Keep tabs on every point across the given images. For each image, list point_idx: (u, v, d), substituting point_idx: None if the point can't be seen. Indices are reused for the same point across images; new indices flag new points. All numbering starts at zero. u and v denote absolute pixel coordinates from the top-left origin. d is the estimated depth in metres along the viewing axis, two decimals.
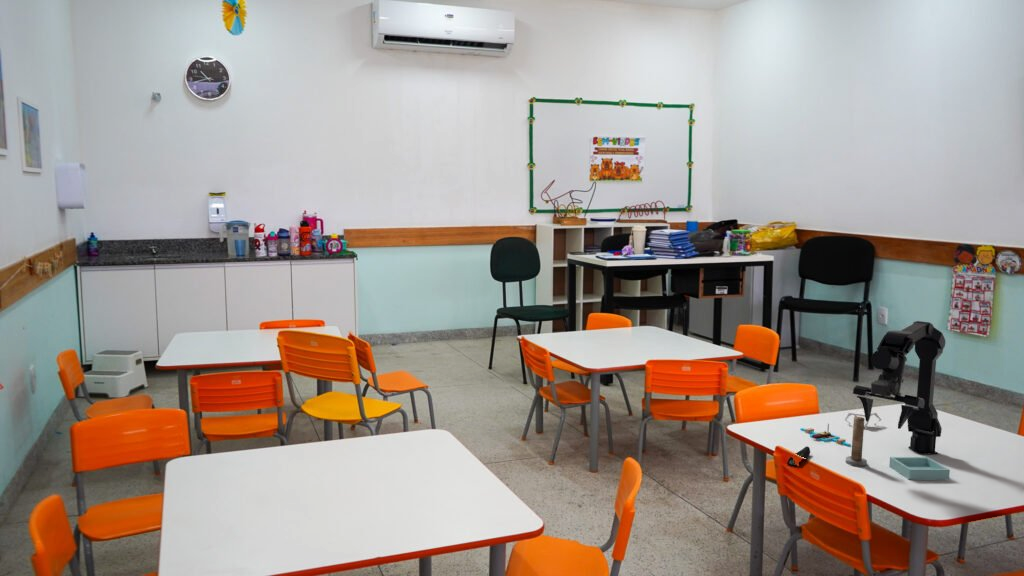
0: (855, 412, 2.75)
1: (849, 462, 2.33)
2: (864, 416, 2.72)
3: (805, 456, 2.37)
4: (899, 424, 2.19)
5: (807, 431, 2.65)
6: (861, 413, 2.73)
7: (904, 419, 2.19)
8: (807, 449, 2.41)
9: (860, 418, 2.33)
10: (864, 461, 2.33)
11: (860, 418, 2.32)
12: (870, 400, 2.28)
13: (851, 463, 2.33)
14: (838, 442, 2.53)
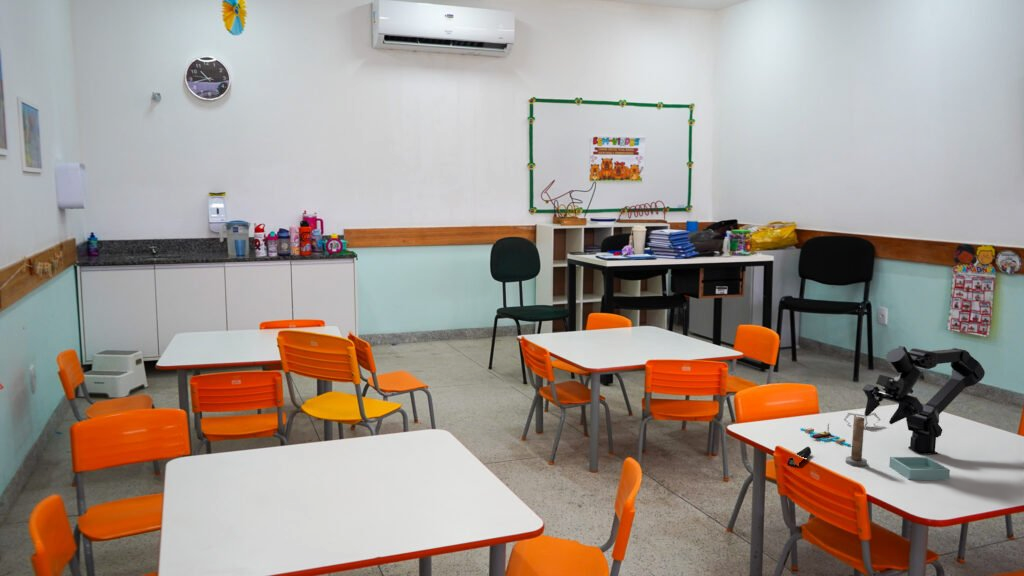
0: (854, 412, 2.75)
1: (849, 462, 2.33)
2: (863, 416, 2.72)
3: (806, 456, 2.37)
4: (891, 419, 2.32)
5: (807, 431, 2.65)
6: (860, 413, 2.73)
7: (898, 416, 2.32)
8: (808, 449, 2.41)
9: (860, 418, 2.33)
10: (864, 461, 2.33)
11: (860, 418, 2.32)
12: (876, 401, 2.43)
13: (851, 463, 2.33)
14: (838, 442, 2.53)
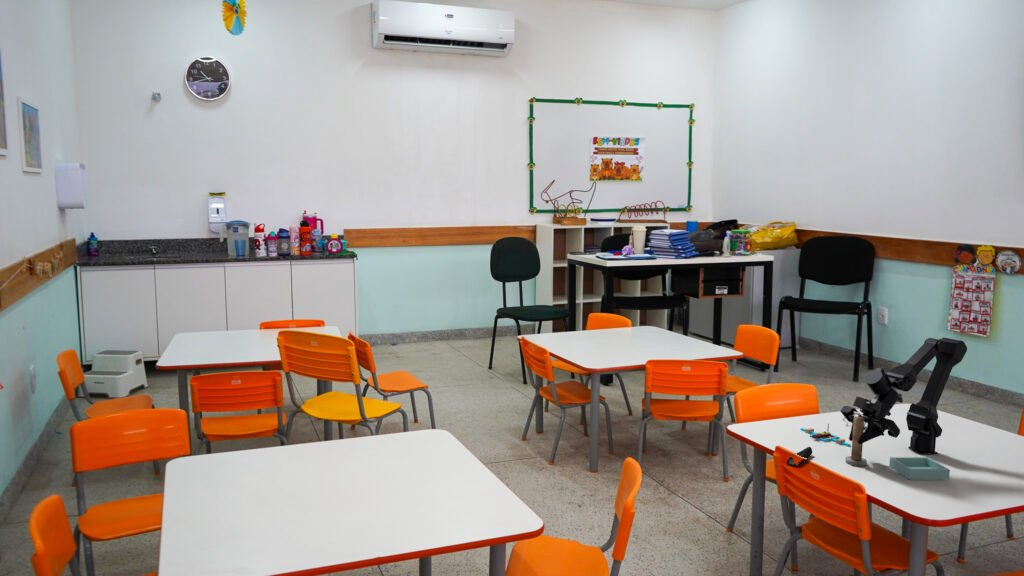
0: None
1: (849, 462, 2.33)
2: None
3: (806, 456, 2.37)
4: (860, 439, 2.32)
5: (807, 431, 2.65)
6: None
7: (866, 436, 2.31)
8: (809, 449, 2.40)
9: (860, 418, 2.33)
10: (864, 461, 2.33)
11: (860, 418, 2.32)
12: None
13: (851, 463, 2.33)
14: (838, 442, 2.53)
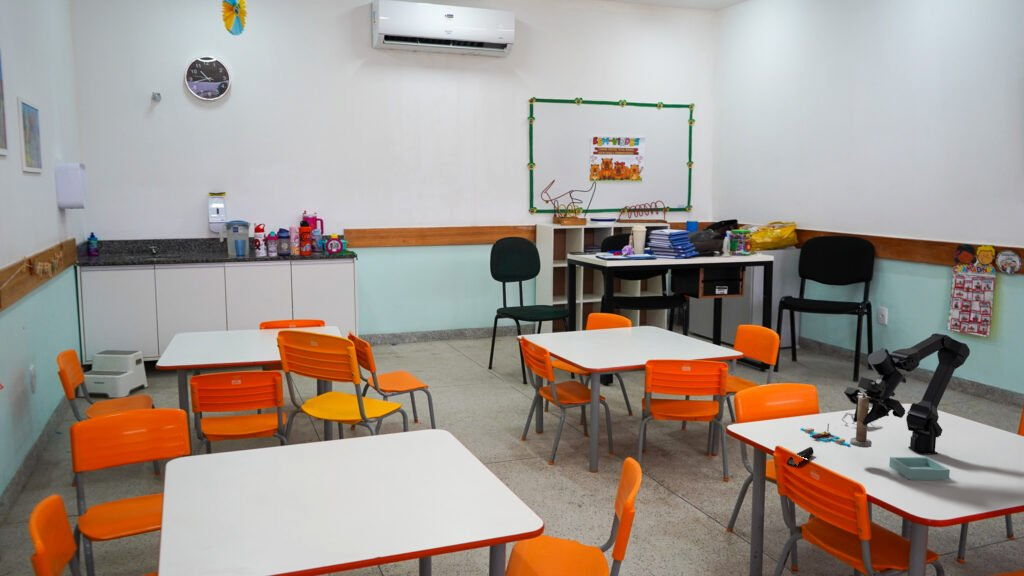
0: (852, 412, 2.75)
1: (854, 443, 2.32)
2: None
3: (807, 456, 2.37)
4: (865, 419, 2.30)
5: (807, 431, 2.65)
6: None
7: (871, 417, 2.30)
8: (810, 449, 2.40)
9: (865, 399, 2.31)
10: (869, 442, 2.32)
11: (865, 399, 2.31)
12: None
13: (856, 444, 2.31)
14: (838, 442, 2.53)
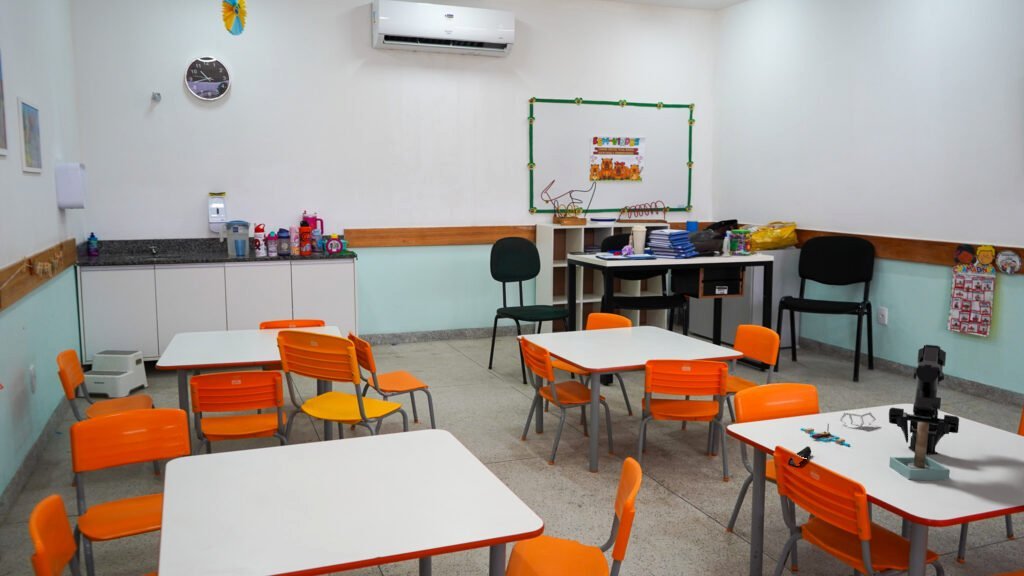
0: (850, 412, 2.75)
1: None
2: None
3: (806, 456, 2.37)
4: (935, 441, 2.23)
5: (807, 431, 2.65)
6: (856, 413, 2.73)
7: (939, 438, 2.24)
8: (808, 449, 2.41)
9: (925, 423, 2.25)
10: (927, 466, 2.26)
11: (925, 423, 2.25)
12: None
13: None
14: (837, 442, 2.53)
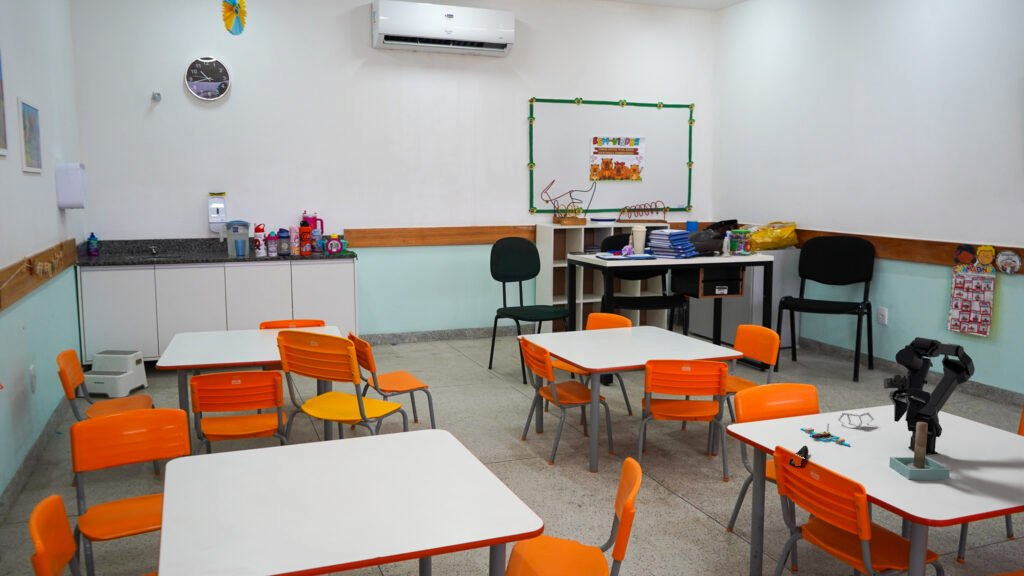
0: (848, 412, 2.74)
1: None
2: (858, 416, 2.72)
3: (805, 455, 2.37)
4: (906, 416, 2.33)
5: (807, 431, 2.65)
6: (854, 413, 2.73)
7: (911, 412, 2.32)
8: (806, 448, 2.41)
9: (924, 423, 2.25)
10: (927, 466, 2.26)
11: (924, 423, 2.25)
12: (904, 403, 2.43)
13: None
14: (837, 442, 2.53)
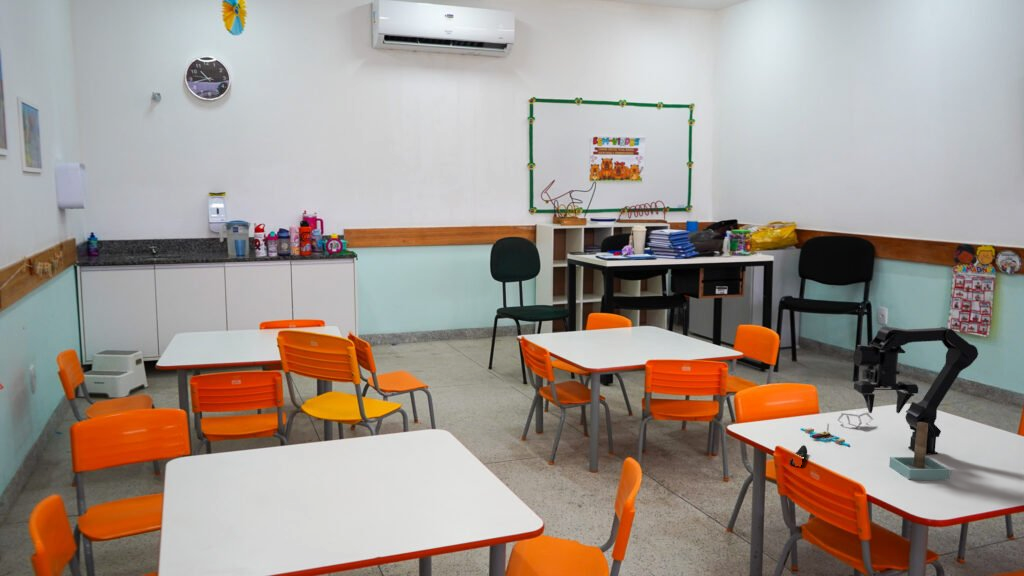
0: (848, 412, 2.74)
1: None
2: (857, 416, 2.72)
3: (805, 455, 2.37)
4: None
5: (807, 431, 2.65)
6: (854, 413, 2.73)
7: (867, 403, 2.44)
8: (805, 448, 2.42)
9: (924, 423, 2.25)
10: (927, 466, 2.26)
11: (924, 423, 2.25)
12: (901, 394, 2.43)
13: None
14: (837, 442, 2.53)
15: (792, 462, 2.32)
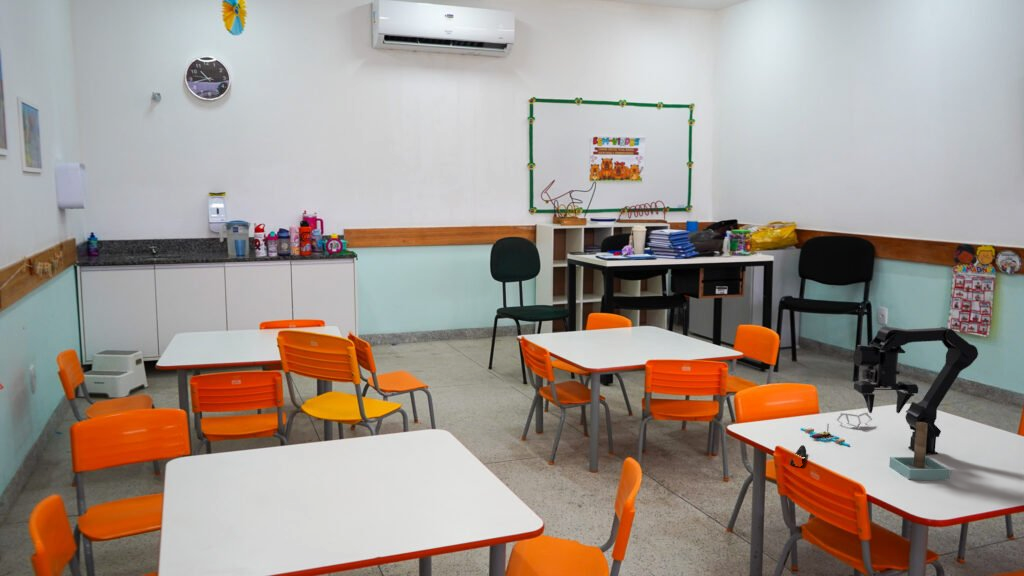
0: (847, 412, 2.74)
1: None
2: (856, 416, 2.72)
3: (804, 455, 2.38)
4: None
5: (807, 431, 2.65)
6: (853, 413, 2.73)
7: (867, 403, 2.44)
8: (804, 448, 2.42)
9: (923, 423, 2.25)
10: (927, 466, 2.26)
11: (924, 423, 2.25)
12: (901, 394, 2.43)
13: None
14: (837, 442, 2.53)
15: (793, 462, 2.32)
